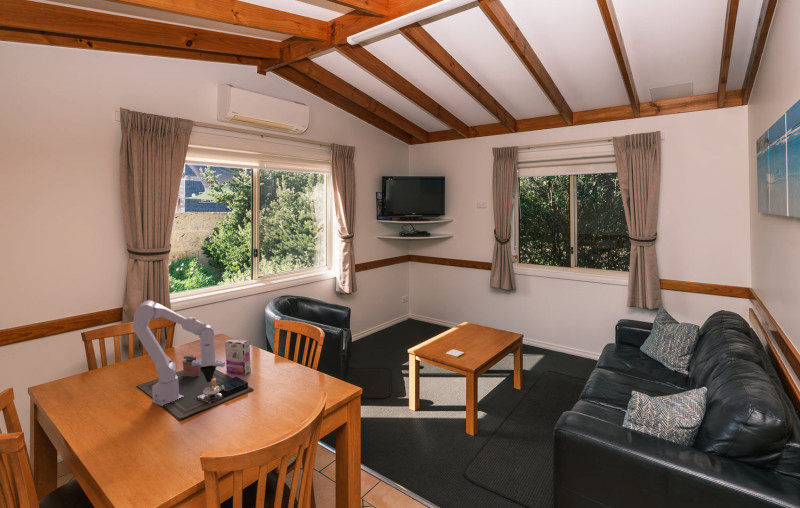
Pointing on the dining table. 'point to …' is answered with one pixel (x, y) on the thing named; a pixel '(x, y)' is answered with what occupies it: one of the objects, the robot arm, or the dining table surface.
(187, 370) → the lighter
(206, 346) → the robot arm
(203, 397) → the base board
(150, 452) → the dining table surface
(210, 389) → the flange plate
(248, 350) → the candy bar box
